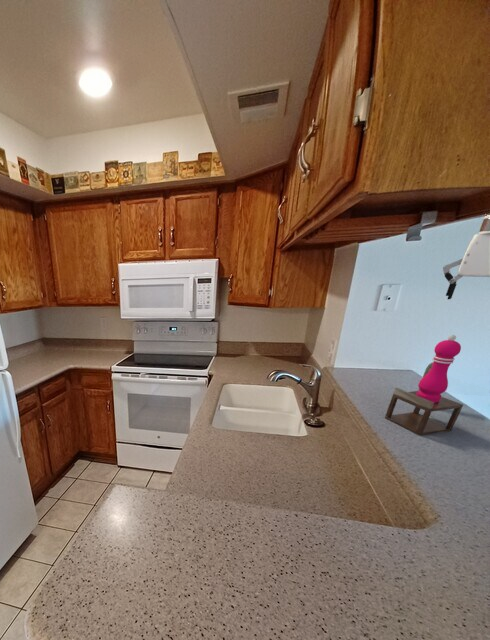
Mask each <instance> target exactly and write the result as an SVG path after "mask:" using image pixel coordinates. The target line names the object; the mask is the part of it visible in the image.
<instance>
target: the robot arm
mask: <svg viewBox="0 0 490 640" xmlns="http://www.w3.org/2000/svg"><path fill="white" fill-rule="evenodd" d="M458 266H459V267H458ZM455 267H458V272H457V274H456V275H455V276H453V274H452V273H451V269H453V268H455ZM442 271H443V274H444V278H445V279H446V280H447V282H448V283H449V286H448V288H447V291H446V293H445V296H446V297H447V300H451V299H452V298H453V295H454V294H455V293H454V292H455V289H456V287H457V285H458V283H457V282H458V281H459V280H460V279H462V278H463V277H475V278H476V277H478V278H480V277H481V278H490V215H487V216H485V215H484V218H483V220H482V223H481V226H480V229H479V231H478V233H476V234H474V235H473V237H472V238H471V240H470V242H469V244H468V246H467V248H466V251H465V253H464V255H463V257H462V258H460V259H458V260H456V261H453V262H451V263H448V264H446V265H444V266H443V267H442Z"/></svg>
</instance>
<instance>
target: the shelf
mask: <svg viewBox="0 0 490 640" xmlns="http://www.w3.org/2000/svg"><path fill="white" fill-rule="evenodd" d="M417 392H418V390H413V391H407V390H404V389H401V388H399V387H395V388H394V390H393V393H392V396H391V399H390V402H389V404H388V407H387V411H386V413H385V417H384V419H386V420H388V421H390V422H392V423H394V424H395V425H397V426H399V427H402V428H404V430H407V431H410V432H411V433H413V434H415V435H417V436H424V435H431V434H436V433H437V434H438V433H444V432H450V431H452V430H453V428H454V426H455V424H456V422H457V420H458V417H459V415H460V413H461V411H462V409H463V407H464V404H462V403H461V402H457V401H454V400H453V399H449V398H446V397H444V396H441V399H440V401H439V402H435V403H434V402H432V401H429V400H427V399H424V398H422V397H419V396H417V395H416V394H417ZM398 400H399V401H402V402H404V403H407V404H409V405H411V406H413V407H414V408H413V412H406V413H397V414H393V413H394V410H395V409H396V408H395V407H396V405H397V402H398ZM421 410H423V411H424V412H423V414H421V413H420V411H421ZM448 410H452V413H451V415H450V417H449V419H448V422H447V424H446V425H445V424H443V423H442V422H439V421H437V420H435V419H432V418H431V414H432V413H433V412H439V411H440V412H441V411H448Z"/></svg>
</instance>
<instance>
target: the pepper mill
mask: <svg viewBox="0 0 490 640" xmlns="http://www.w3.org/2000/svg"><path fill="white" fill-rule="evenodd" d="M456 340H457V336H456V335H455V334H450V335H449V336H448V337H447V339H445V340H441V341H439V342H438V343H437V344H436V345H435V347H434V350H433V351H434V354H435V355H433V358H432V362H433V365H432V368H431V369H430V371H429V372H428V373H427V374H426V375H425V376H424V377H423V376H422V378H421V379H420V380H419V382H418V384H417V386H418V390H419V389H420V391H418V390H417V391H418V392H417V394H416V395H417V396H419V397H422V398H424V399H427V400H429V401H432V402H434V403H435V402H439V401H440V399H441V397H442V395H441V394H444V393H445V392H446V391H447V390H448V386H449V380H448V379H449V378H448V370H449V368H450V366H451V364H454V361H455V357H456V356H458V355H459V354H460V352H461V350H462V346H461V344H460V342H458V341H456Z"/></svg>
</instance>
